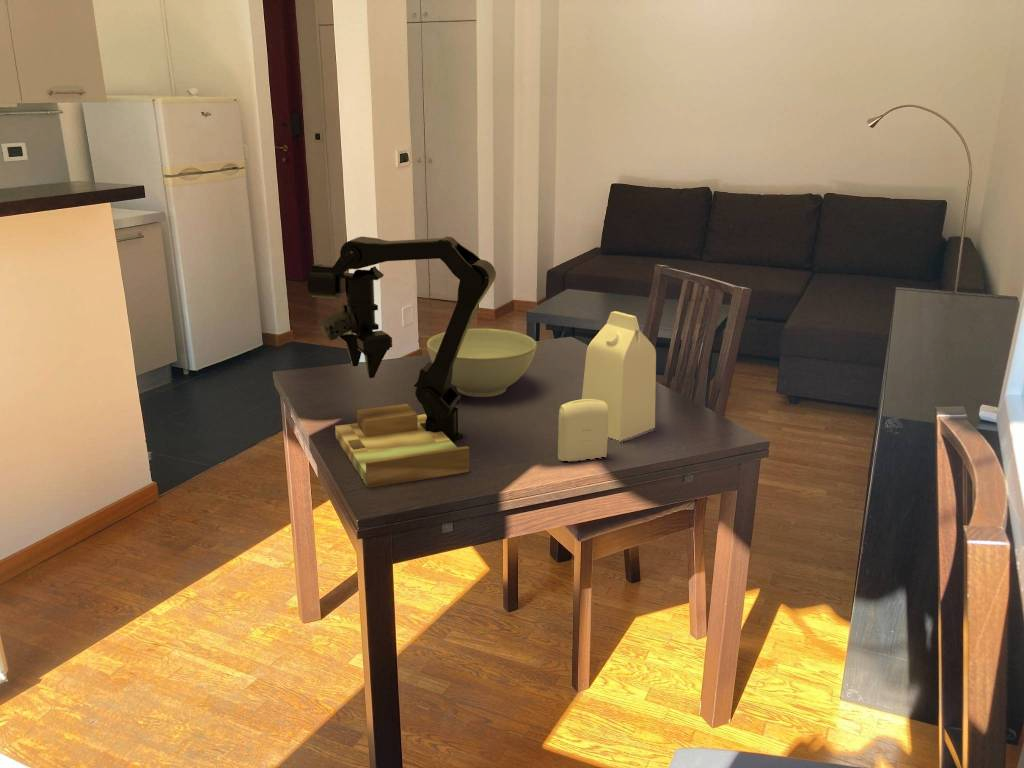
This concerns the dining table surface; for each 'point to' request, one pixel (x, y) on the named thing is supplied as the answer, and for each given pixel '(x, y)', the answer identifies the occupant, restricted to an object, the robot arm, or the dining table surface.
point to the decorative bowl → (488, 360)
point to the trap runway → (402, 454)
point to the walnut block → (387, 420)
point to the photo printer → (582, 430)
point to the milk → (622, 376)
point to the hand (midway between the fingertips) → (363, 371)
